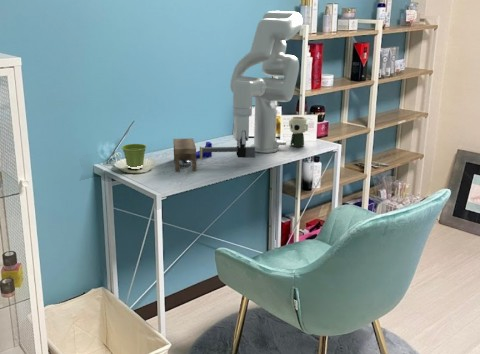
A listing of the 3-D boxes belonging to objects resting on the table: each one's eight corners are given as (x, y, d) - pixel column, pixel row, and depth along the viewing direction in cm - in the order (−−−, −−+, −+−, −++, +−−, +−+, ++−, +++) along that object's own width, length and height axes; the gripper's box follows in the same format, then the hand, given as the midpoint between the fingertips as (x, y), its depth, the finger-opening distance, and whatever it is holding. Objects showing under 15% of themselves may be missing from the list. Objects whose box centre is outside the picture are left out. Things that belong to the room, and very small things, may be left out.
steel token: (180, 162, 221) (180, 157, 221) (192, 163, 221) (192, 159, 220) (176, 166, 217) (177, 162, 216) (189, 168, 216) (189, 163, 215)
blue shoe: (208, 154, 235) (208, 140, 233) (211, 157, 231) (211, 143, 229) (181, 156, 230) (181, 142, 229) (184, 159, 227) (184, 145, 225)
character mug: (283, 144, 250) (284, 116, 246) (293, 142, 255) (294, 114, 250) (301, 149, 243) (302, 121, 238) (311, 147, 247) (313, 118, 243)
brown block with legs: (193, 159, 226) (193, 138, 223) (196, 170, 212) (196, 148, 209) (173, 159, 225) (173, 138, 222) (175, 171, 211) (175, 149, 208)
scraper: (253, 155, 224) (253, 145, 223) (255, 158, 219) (255, 148, 218) (199, 156, 221) (199, 146, 219) (200, 159, 216) (200, 149, 215)
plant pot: (121, 165, 217) (119, 144, 214) (144, 163, 220) (143, 142, 217) (125, 172, 209) (124, 151, 206) (149, 170, 212) (148, 148, 209)
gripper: (230, 107, 222) (229, 151, 228) (235, 115, 207) (234, 162, 213) (248, 107, 223) (246, 151, 229) (255, 115, 208) (253, 161, 214)
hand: (240, 156), depth 221 cm, fingers closed on scraper, 2 cm apart
